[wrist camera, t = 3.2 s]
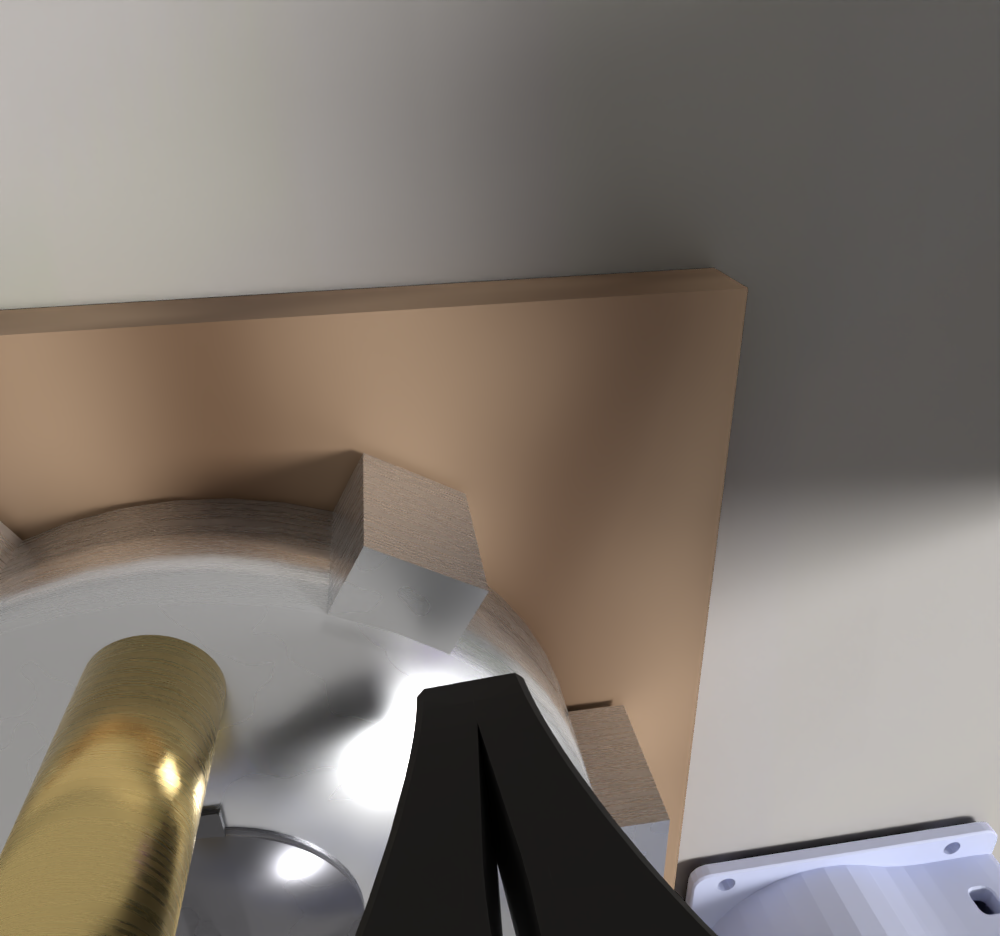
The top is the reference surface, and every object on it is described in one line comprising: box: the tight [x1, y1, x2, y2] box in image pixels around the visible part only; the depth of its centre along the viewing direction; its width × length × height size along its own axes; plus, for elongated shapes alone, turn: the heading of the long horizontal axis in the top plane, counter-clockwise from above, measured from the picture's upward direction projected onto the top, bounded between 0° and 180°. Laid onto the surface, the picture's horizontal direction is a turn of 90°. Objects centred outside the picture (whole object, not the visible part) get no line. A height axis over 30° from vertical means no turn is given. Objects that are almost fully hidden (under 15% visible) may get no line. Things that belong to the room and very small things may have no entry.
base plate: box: [0, 268, 748, 889], centre depth 18 cm, size 20×20×2 cm
